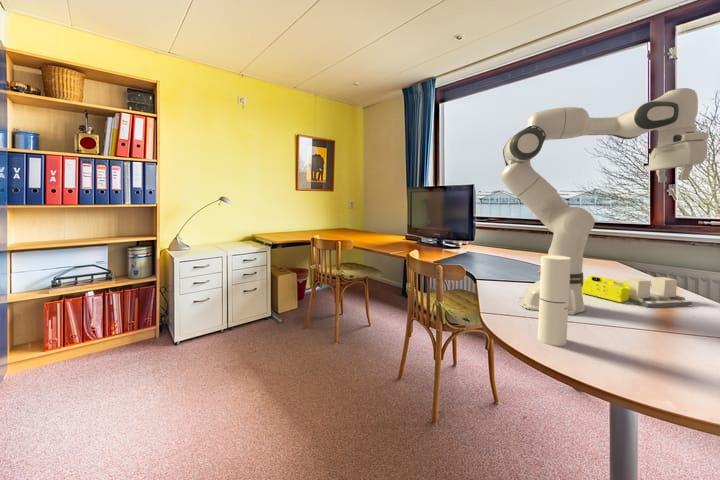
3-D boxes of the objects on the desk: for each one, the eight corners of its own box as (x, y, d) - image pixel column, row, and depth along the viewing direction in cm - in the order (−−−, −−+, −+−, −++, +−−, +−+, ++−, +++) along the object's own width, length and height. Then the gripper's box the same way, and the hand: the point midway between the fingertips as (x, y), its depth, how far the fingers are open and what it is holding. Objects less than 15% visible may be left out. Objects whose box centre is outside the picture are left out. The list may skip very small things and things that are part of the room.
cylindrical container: (532, 336, 92) (535, 255, 90) (554, 334, 93) (558, 254, 90) (548, 346, 85) (552, 259, 83) (572, 345, 86) (577, 258, 83)
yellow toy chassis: (629, 302, 121) (630, 282, 120) (620, 304, 119) (621, 283, 119) (587, 292, 136) (588, 274, 135) (578, 293, 134) (579, 275, 133)
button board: (647, 307, 114) (647, 301, 114) (616, 297, 127) (617, 291, 127) (691, 305, 115) (692, 299, 115) (656, 296, 128) (657, 290, 128)
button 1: (637, 298, 119) (638, 281, 118) (623, 294, 125) (624, 277, 125) (649, 298, 119) (650, 280, 119) (634, 293, 126) (635, 277, 125)
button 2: (663, 297, 120) (665, 280, 119) (648, 293, 126) (649, 276, 125) (675, 297, 120) (677, 279, 119) (659, 292, 126) (660, 276, 125)
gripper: (644, 146, 113) (641, 183, 115) (688, 133, 93) (684, 179, 95) (664, 145, 112) (661, 182, 113) (713, 132, 92) (709, 178, 93)
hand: (672, 181), depth 104 cm, fingers open, 8 cm apart
